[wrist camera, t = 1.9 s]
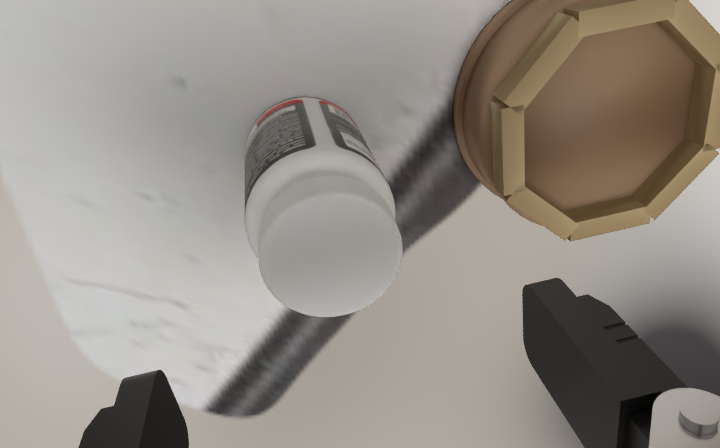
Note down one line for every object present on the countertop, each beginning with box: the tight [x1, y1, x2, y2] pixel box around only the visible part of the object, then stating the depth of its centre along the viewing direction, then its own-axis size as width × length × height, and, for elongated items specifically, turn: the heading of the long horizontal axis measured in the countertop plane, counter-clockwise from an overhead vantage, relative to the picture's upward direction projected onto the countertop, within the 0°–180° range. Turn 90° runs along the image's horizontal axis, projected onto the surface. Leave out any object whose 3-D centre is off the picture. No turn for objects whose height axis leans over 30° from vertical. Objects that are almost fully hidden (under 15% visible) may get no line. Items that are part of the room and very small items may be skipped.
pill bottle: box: [245, 97, 403, 317], centre depth 19 cm, size 5×5×8 cm
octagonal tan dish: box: [453, 0, 720, 241], centre depth 22 cm, size 10×10×4 cm
